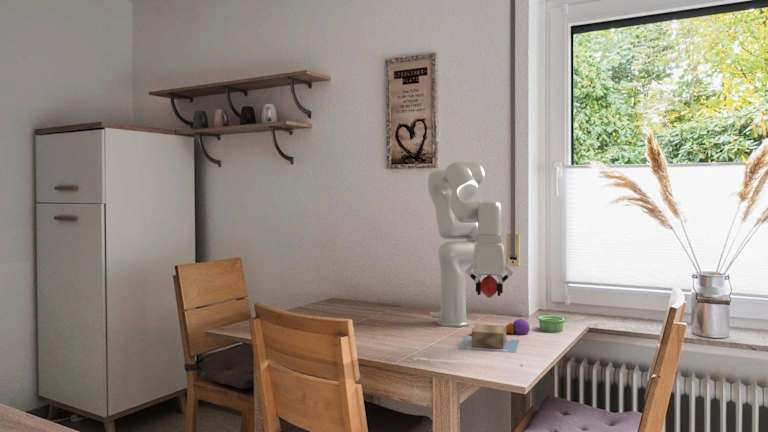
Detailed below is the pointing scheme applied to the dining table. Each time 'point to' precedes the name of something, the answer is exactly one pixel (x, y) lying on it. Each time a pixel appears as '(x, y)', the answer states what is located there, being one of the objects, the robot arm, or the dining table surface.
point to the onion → (489, 286)
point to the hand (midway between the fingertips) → (489, 294)
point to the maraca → (517, 327)
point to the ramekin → (551, 323)
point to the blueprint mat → (509, 347)
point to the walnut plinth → (489, 336)
